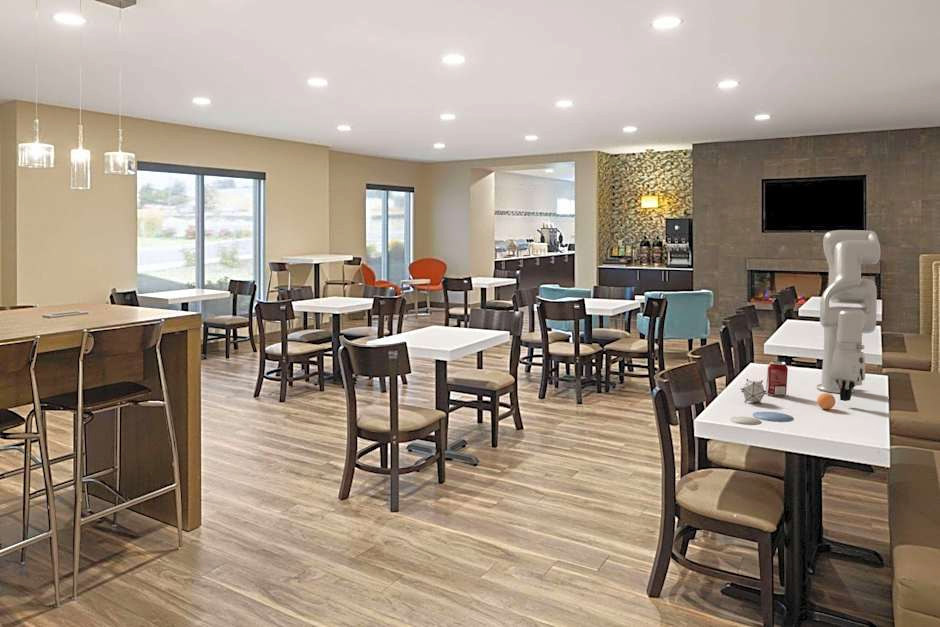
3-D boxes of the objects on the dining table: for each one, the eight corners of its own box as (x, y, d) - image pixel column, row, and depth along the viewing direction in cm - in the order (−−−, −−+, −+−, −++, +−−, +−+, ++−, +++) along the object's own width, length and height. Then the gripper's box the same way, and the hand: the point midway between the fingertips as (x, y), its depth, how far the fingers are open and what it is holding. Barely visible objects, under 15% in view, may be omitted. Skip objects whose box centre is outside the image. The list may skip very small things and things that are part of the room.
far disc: (744, 415, 231) (744, 415, 231) (767, 422, 223) (767, 422, 223) (723, 418, 227) (724, 418, 227) (746, 425, 219) (746, 425, 219)
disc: (770, 410, 238) (770, 410, 238) (801, 419, 228) (801, 418, 228) (744, 414, 233) (744, 413, 233) (774, 423, 222) (774, 422, 222)
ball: (823, 406, 245) (825, 390, 244) (838, 410, 240) (839, 394, 240) (812, 408, 243) (813, 392, 242) (827, 411, 238) (828, 395, 237)
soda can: (788, 397, 258) (790, 364, 257) (767, 396, 259) (769, 363, 258) (783, 393, 265) (785, 361, 263) (764, 392, 266) (766, 360, 265)
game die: (746, 412, 251) (732, 386, 255) (768, 403, 252) (754, 378, 256) (752, 405, 243) (738, 378, 247) (776, 396, 244) (761, 370, 248)
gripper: (876, 349, 238) (873, 403, 240) (836, 343, 252) (832, 395, 253) (862, 350, 235) (858, 405, 237) (821, 344, 248) (818, 396, 250)
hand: (845, 400), depth 245 cm, fingers closed
